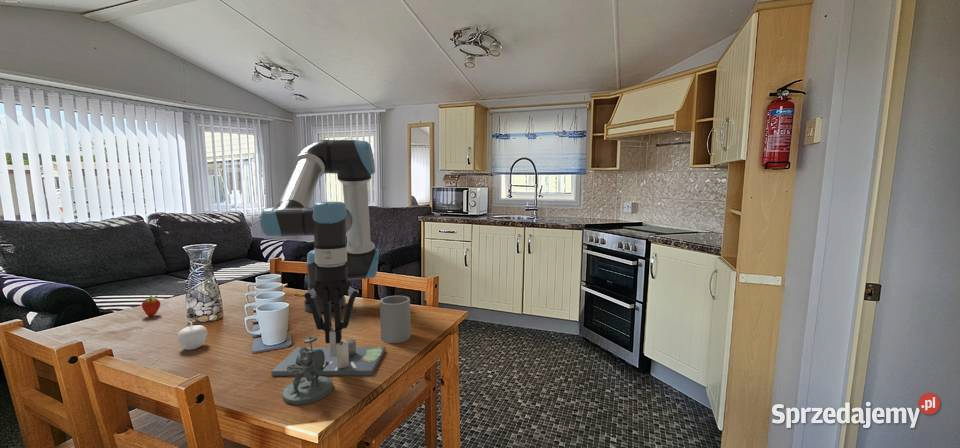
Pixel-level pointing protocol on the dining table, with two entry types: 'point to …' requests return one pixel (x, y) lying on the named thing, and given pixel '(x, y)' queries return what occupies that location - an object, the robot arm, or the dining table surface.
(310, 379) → the figurine
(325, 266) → the robot arm
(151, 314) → the fruit
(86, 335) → the dining table surface
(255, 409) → the dining table surface
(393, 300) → the cup
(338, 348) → the grey and white piece
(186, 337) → the plain white apple
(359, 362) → the board
